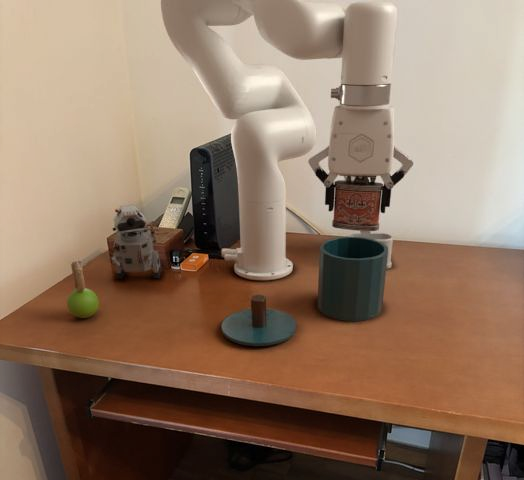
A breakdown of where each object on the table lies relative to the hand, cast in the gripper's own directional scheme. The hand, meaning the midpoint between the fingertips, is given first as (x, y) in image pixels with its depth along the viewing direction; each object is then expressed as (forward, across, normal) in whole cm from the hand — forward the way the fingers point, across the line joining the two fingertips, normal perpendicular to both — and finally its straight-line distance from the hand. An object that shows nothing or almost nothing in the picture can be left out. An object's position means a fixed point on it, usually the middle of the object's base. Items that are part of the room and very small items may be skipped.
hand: (356, 209), depth 93 cm
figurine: (+18, -44, +6) cm, 48 cm away
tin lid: (+18, -15, -12) cm, 26 cm away
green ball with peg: (+18, -47, -12) cm, 52 cm away
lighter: (+3, 0, 0) cm, 3 cm away
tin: (+18, 0, 0) cm, 18 cm away
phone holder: (+18, +2, +28) cm, 33 cm away
